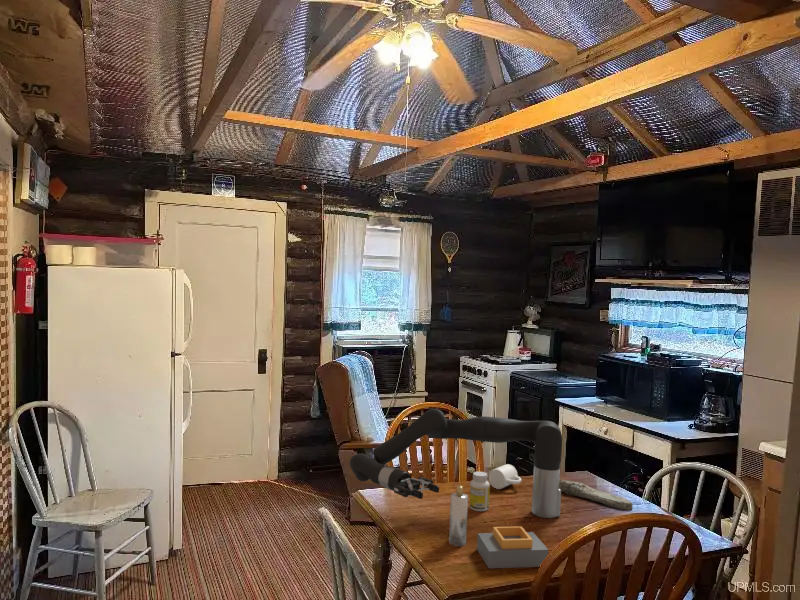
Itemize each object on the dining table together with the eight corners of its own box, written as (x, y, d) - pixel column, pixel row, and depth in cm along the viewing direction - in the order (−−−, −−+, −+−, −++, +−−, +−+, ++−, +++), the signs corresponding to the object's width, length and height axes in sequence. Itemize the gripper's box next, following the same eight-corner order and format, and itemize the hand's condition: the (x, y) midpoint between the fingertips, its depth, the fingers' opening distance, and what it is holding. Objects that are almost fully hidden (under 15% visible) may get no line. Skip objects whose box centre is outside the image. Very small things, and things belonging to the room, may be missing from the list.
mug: (487, 486, 234) (488, 467, 234) (500, 480, 242) (501, 462, 241) (513, 494, 226) (514, 474, 226) (526, 488, 234) (526, 469, 233)
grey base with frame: (530, 545, 182) (531, 522, 181) (547, 566, 168) (548, 541, 168) (475, 546, 179) (476, 523, 179) (488, 568, 166) (489, 542, 165)
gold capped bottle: (463, 538, 185) (465, 483, 184) (467, 546, 179) (470, 489, 179) (447, 538, 184) (449, 483, 183) (451, 546, 179) (453, 489, 178)
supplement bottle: (479, 503, 215) (481, 469, 215) (492, 509, 210) (494, 475, 209) (465, 506, 211) (466, 472, 211) (478, 513, 206) (479, 478, 205)
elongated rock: (625, 517, 212) (635, 511, 219) (627, 503, 212) (637, 498, 219) (541, 486, 235) (552, 482, 243) (542, 474, 235) (554, 470, 243)
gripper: (381, 473, 194) (417, 486, 183) (408, 464, 205) (444, 476, 194) (379, 494, 194) (416, 509, 184) (407, 485, 205) (443, 498, 194)
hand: (430, 492), depth 189 cm, fingers open, 8 cm apart
